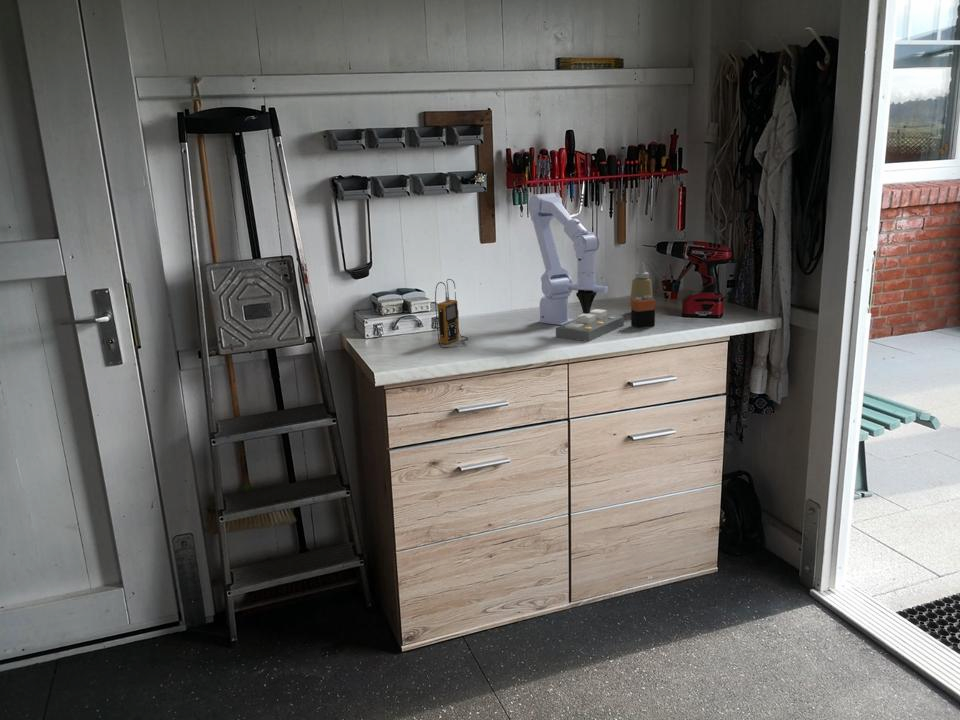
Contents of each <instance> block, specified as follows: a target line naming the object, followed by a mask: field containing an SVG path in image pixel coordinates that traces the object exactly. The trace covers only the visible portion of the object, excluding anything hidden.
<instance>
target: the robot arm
mask: <svg viewBox="0 0 960 720" xmlns="http://www.w3.org/2000/svg"><path fill="white" fill-rule="evenodd" d="M527 208H528V212H529V214H530V215H529V216H530V219H531V221H532V225H533V227H534V232H535V235H536V238H537V239H536V240H537V243H538V246H539V250H540V254H541V257H542V261H543V265H544V269H545V271H544V272H543V274H542V275H541V277H540V280H541V292H542V293H543V296H542V297H541V298H540V300H539V320H538V323H541V324H550V325H556V326H557V325H558V326H561V325H564V324H566V323H569V322H571V321H574V319H573V318H569V297H570V296H571V293H572V292H573V291H576V293H575V294H576V297H577V299H578V301H579V303H580V306H581V310H582V314H589V313H590V311H591V308H592V305H593V302H594V299H595V297H596V296H597V293H601V294H607V293H609V287H608V286H607V285H606V286H605V285H600V284H596V252H597V251H598V249H599V247H600V239H599V236H598V235H597V233H594V232H591V231H588V230H587V228H586V227H585V226H584V225H583V224H582V222H581V221H580V220H579V219H577V218H572V216H571V215H570V213H569V212H568V210H566V208H565V207H564V204H563V199H562V197H561V196H560V195H559V194H558V192H551V193H540V194H534V193H533V194H532V195H531V196H530V197H529V200H528V203H527ZM554 218H555V219H556V220H557V221H558V222H560V223H561V224H562V225H563V232H564V234H566V236H567V237H568V238H569V239H570V240H571V242H573V245H572V247H573V249H574V252H575V257H576V259H577V261H576V262H577V283H575V282H574V281H573V279H572V278H571V276H570V273H569V271H568V270H566V269H565V268H563V267H562V266H561V262H560V258H559V254H558V251H557V247H556V243H555V239H554V236H553V233H552V228H551V221H552V220H553V219H554Z"/></svg>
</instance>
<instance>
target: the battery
mask: <svg viewBox="0 0 960 720" xmlns="http://www.w3.org/2000/svg"><path fill="white" fill-rule="evenodd" d="M644 297H645V298H641V297H636V299H632V300H631V304H630V307H631V309H630V313H631V315H630V325H631V326H632V327H634V328H636V329H641V328H651V327H655V324H656V323H655V322H656V299H655V298H653V299H652V298H650V297H651V296H644Z"/></svg>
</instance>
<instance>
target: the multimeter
mask: <svg viewBox="0 0 960 720" xmlns="http://www.w3.org/2000/svg"><path fill="white" fill-rule="evenodd" d="M448 281H452V283H453V285H454V288H456V283H455V281H454V280H453V279H452V278H448V279H446V284H445V283H444V282H442V281H439V282H437V284H436V286H435V292H434V293H435V296H434V303H435V305H434V306H435V319H436V331H437V338H438V339H437V340H438V344H439V347H440V348H441V349H449V347H451V348H457V347H460V346H462V344H464V346H468V344H467V342H465V341H467V340H468V339H469V338H468V337H467V336H462V335H461V333H460V328H459V327H460V326H459V325H460V323H459V308H458V306H459V305H458V300H457V295H456V293H454V299H450V293H449V284H448ZM439 284H443V285H444V288H445V290H446V292H445V298H444V299H445V301H442V302H438V304H437V289H438V288H437V287H438V285H439ZM460 337H461V338H465V339H461V342H462V344H455V345H450V346H446V347H445V346H444V347H443V346H442V345H449V344H450V343H453V342H456V341H459V339H460ZM441 344H442V345H441Z"/></svg>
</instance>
